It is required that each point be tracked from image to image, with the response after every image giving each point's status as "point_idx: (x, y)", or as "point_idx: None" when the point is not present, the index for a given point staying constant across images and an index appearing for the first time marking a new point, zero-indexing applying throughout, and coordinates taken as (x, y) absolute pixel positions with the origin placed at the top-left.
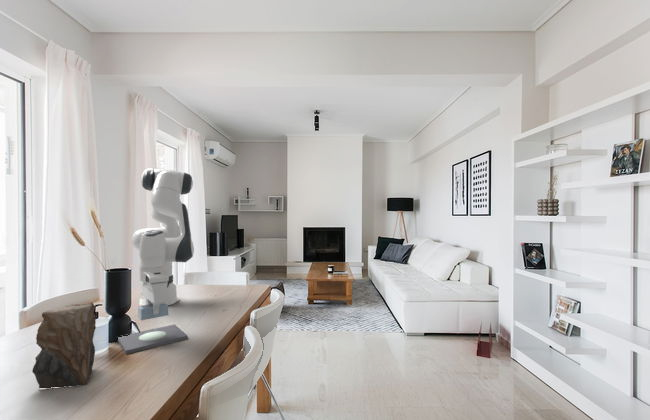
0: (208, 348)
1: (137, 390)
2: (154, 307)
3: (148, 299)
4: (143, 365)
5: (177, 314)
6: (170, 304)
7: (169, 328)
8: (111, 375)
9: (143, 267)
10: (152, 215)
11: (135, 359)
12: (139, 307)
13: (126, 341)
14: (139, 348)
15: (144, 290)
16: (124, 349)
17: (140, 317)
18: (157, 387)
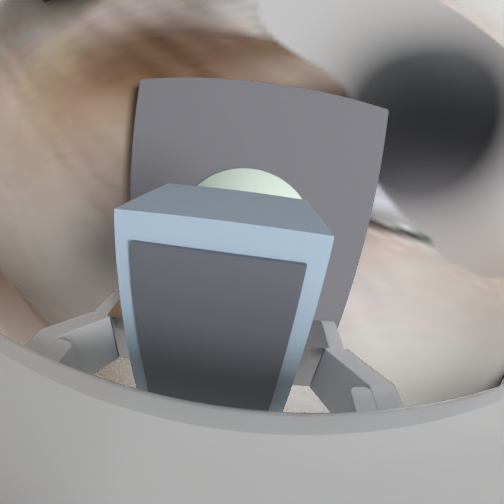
0: (43, 317)
1: None
2: (67, 328)
3: (151, 398)
4: (27, 129)
5: (433, 389)
6: (500, 385)
7: None
8: (36, 46)
9: None
10: None
11: (75, 110)
12: (233, 222)
13: (271, 109)
14: (135, 137)
15: (462, 485)
16: (172, 79)
17: (196, 190)
18: None
